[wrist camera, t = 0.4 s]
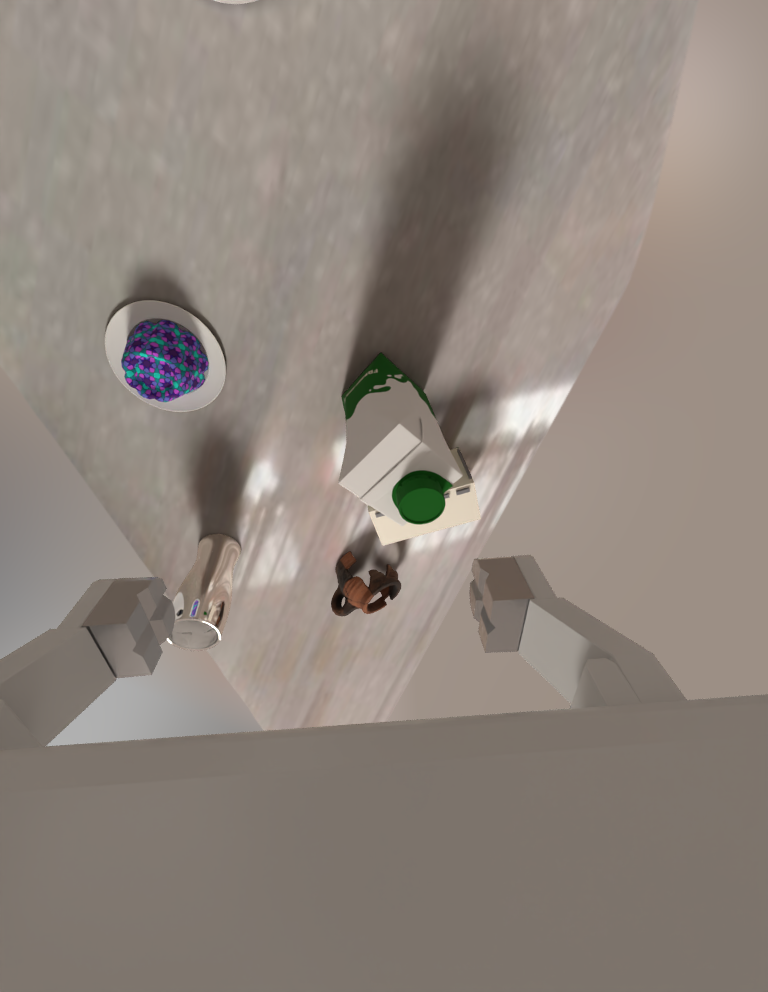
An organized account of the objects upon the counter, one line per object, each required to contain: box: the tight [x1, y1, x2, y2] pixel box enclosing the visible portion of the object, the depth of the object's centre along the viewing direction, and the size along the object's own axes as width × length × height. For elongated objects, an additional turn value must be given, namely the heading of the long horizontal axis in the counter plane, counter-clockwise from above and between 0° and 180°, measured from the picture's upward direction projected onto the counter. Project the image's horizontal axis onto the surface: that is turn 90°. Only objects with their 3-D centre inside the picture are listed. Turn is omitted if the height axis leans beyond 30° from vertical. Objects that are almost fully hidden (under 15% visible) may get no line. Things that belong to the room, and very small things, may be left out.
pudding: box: [105, 300, 226, 412], centre depth 43 cm, size 12×12×5 cm
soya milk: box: [338, 353, 463, 526], centre depth 42 cm, size 9×9×20 cm
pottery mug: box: [331, 552, 401, 616], centre depth 66 cm, size 12×10×8 cm
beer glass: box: [167, 534, 241, 651], centre depth 56 cm, size 7×7×15 cm
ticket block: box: [368, 448, 481, 546], centre depth 54 cm, size 6×13×8 cm, turn 106°
